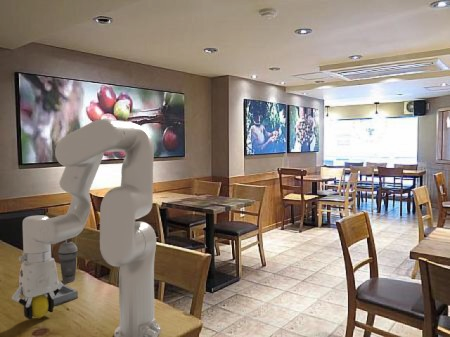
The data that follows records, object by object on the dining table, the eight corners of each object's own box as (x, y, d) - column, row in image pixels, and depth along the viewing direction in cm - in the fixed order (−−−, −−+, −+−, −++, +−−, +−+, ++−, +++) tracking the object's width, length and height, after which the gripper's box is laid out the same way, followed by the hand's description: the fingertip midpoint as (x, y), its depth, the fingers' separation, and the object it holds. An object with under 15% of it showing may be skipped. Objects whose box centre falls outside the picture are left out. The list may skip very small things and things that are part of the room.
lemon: (43, 313, 120) (42, 288, 120) (52, 317, 117) (51, 292, 116) (25, 319, 116) (24, 293, 115) (34, 324, 112) (33, 298, 112)
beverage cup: (71, 284, 145) (70, 233, 144) (54, 283, 147) (53, 232, 145) (82, 278, 152) (81, 228, 151) (66, 276, 154) (64, 228, 153)
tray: (77, 297, 132) (77, 290, 132) (43, 309, 123) (43, 301, 123) (60, 289, 140) (60, 283, 139) (26, 300, 130) (26, 293, 130)
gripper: (12, 265, 106) (14, 328, 107) (70, 252, 119) (72, 308, 120) (1, 260, 111) (4, 321, 112) (58, 248, 124) (60, 302, 125)
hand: (39, 314), depth 116 cm, fingers closed on lemon, 5 cm apart
